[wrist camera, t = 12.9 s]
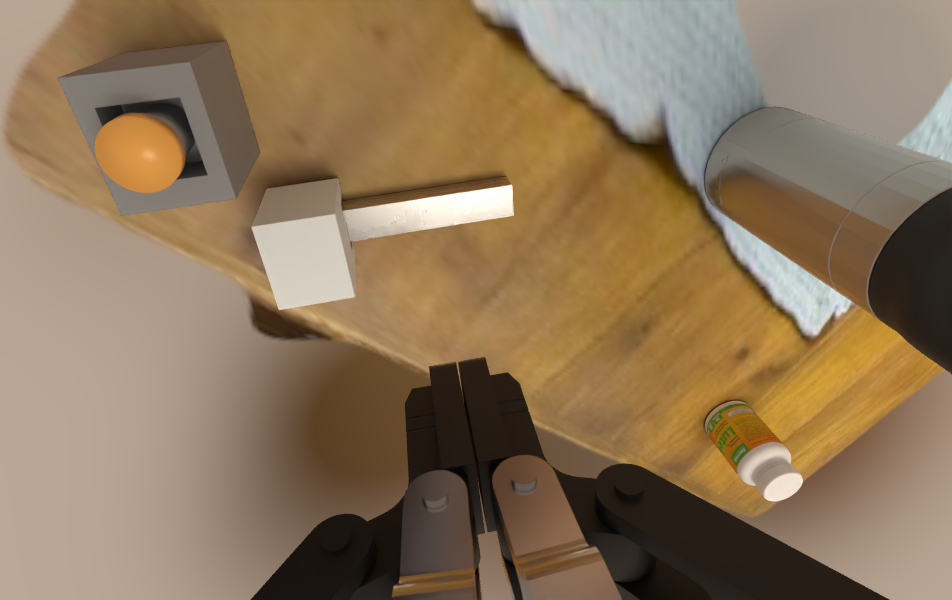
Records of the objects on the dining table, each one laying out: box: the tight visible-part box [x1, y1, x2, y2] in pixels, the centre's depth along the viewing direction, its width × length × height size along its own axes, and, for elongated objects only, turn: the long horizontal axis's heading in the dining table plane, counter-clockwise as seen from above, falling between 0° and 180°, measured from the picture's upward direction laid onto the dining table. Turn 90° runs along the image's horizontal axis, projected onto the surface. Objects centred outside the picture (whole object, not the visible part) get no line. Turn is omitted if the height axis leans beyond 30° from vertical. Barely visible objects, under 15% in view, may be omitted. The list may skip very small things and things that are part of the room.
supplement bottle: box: [705, 401, 803, 501], centre depth 57 cm, size 5×5×10 cm
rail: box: [341, 176, 514, 241], centre depth 41 cm, size 18×2×2 cm, turn 96°
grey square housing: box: [58, 41, 260, 216], centre depth 32 cm, size 6×7×9 cm
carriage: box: [251, 178, 355, 310], centre depth 38 cm, size 5×6×7 cm
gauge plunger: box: [95, 104, 195, 193], centre depth 28 cm, size 4×4×5 cm
